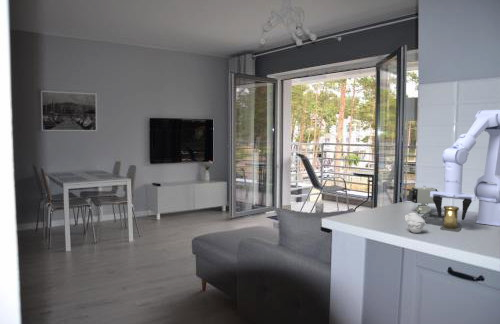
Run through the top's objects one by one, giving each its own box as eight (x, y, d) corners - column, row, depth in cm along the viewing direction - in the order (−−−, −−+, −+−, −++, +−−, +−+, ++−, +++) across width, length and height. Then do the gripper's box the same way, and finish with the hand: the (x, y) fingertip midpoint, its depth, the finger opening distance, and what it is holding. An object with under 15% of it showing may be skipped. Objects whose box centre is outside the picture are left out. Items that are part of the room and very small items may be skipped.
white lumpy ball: (409, 229, 142) (409, 210, 141) (428, 233, 137) (429, 213, 136) (400, 232, 138) (401, 212, 137) (420, 236, 133) (421, 215, 132)
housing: (426, 216, 164) (427, 210, 163) (453, 219, 158) (453, 213, 158) (419, 222, 152) (419, 216, 152) (447, 226, 147) (448, 220, 146)
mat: (461, 228, 144) (461, 227, 143) (458, 231, 139) (458, 230, 139) (443, 226, 147) (443, 225, 147) (440, 229, 142) (440, 228, 142)
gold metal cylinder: (458, 227, 144) (459, 206, 144) (457, 229, 140) (458, 208, 139) (443, 225, 147) (444, 205, 146) (442, 228, 142) (443, 207, 142)
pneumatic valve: (439, 214, 168) (440, 186, 167) (411, 214, 168) (413, 186, 168) (433, 211, 174) (434, 185, 173) (406, 211, 174) (408, 184, 173)
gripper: (429, 180, 142) (427, 217, 143) (474, 184, 134) (472, 223, 135) (433, 178, 148) (431, 214, 149) (476, 182, 140) (474, 219, 141)
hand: (451, 218), depth 142 cm, fingers open, 7 cm apart
